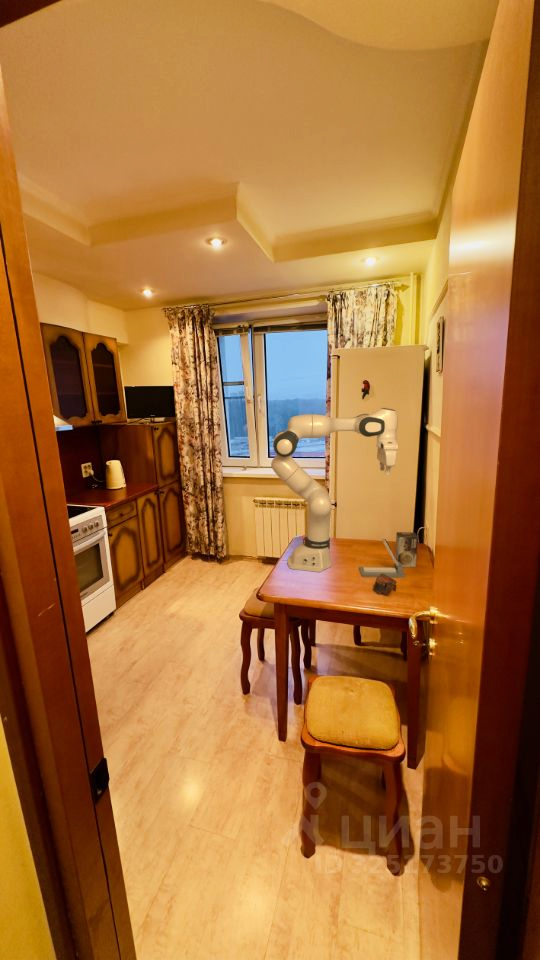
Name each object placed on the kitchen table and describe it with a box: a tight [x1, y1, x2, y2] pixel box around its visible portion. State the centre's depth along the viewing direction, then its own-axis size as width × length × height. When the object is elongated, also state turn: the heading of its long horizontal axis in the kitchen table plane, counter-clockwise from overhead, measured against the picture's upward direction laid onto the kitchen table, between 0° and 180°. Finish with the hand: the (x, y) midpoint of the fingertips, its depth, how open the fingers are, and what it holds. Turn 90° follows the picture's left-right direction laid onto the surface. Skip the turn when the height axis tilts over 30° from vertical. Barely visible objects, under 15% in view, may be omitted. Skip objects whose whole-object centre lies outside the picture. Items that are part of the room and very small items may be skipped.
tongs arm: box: [381, 538, 400, 567], centre depth 171 cm, size 16×3×2 cm
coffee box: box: [394, 531, 419, 568], centre depth 181 cm, size 9×6×16 cm
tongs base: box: [358, 561, 406, 579], centre depth 174 cm, size 20×8×4 cm, turn 86°
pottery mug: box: [372, 574, 397, 596], centre depth 157 cm, size 12×10×8 cm
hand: (384, 472), depth 172 cm, fingers open, 8 cm apart
